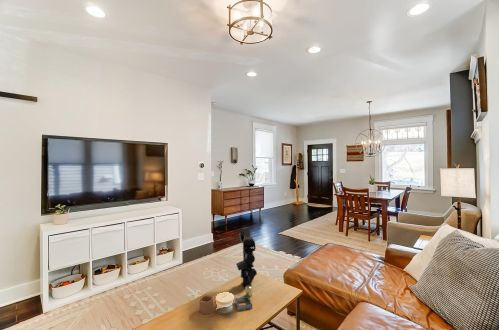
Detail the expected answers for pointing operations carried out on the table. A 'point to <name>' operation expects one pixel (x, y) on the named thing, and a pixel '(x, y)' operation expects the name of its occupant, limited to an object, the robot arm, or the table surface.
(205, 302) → the bracket
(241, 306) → the bearing block
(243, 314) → the table surface
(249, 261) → the robot arm
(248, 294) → the brass spacer
